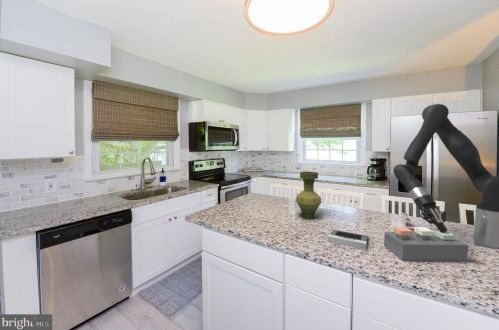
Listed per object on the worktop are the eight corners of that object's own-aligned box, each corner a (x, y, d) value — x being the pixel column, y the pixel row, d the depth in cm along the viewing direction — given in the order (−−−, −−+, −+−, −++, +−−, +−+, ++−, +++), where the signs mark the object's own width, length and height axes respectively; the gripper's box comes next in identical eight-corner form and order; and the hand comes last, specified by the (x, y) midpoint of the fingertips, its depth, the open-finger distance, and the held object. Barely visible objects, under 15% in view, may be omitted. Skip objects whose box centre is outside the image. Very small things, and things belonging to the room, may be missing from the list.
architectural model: (407, 224, 139) (408, 212, 139) (412, 228, 133) (413, 215, 132) (401, 223, 140) (402, 212, 139) (406, 227, 133) (406, 215, 133)
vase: (290, 217, 153) (291, 172, 150) (304, 212, 163) (305, 170, 161) (312, 223, 141) (313, 175, 138) (325, 217, 151) (326, 172, 149)
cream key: (424, 238, 104) (425, 227, 103) (433, 243, 99) (434, 231, 98) (413, 238, 104) (414, 227, 103) (421, 243, 99) (422, 231, 98)
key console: (440, 246, 108) (441, 232, 107) (466, 261, 94) (468, 245, 94) (383, 245, 109) (384, 231, 108) (402, 260, 95) (403, 244, 95)
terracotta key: (404, 238, 104) (405, 226, 103) (411, 243, 99) (412, 231, 98) (393, 238, 104) (393, 226, 104) (400, 243, 99) (400, 231, 99)
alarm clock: (327, 236, 114) (334, 223, 127) (327, 244, 114) (334, 231, 128) (366, 243, 105) (368, 229, 119) (366, 253, 106) (368, 237, 120)
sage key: (445, 242, 103) (445, 230, 103) (454, 247, 98) (455, 235, 98) (433, 242, 104) (434, 230, 103) (442, 247, 99) (443, 235, 98)
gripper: (414, 194, 108) (437, 229, 97) (439, 193, 109) (464, 227, 98) (405, 202, 113) (425, 236, 102) (428, 201, 115) (451, 234, 104)
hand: (444, 231), depth 100 cm, fingers closed
